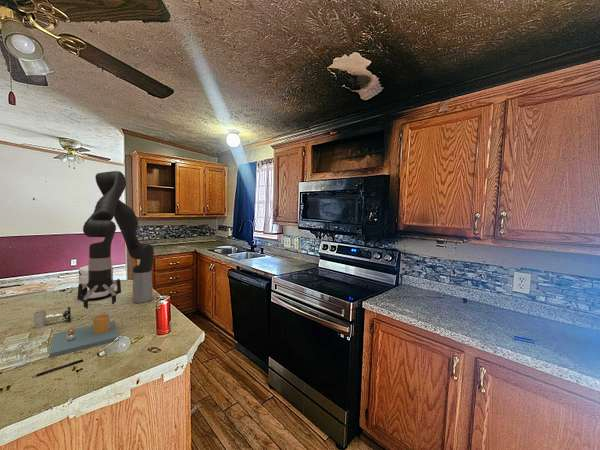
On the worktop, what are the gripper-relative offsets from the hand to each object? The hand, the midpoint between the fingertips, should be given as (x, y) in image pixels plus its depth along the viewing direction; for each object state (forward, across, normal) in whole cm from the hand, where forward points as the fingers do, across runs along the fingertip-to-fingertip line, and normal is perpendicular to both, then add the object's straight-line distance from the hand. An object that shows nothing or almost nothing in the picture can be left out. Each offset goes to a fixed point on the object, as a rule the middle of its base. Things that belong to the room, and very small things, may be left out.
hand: (100, 305), depth 106 cm
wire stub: (+11, +9, +2) cm, 14 cm away
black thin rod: (+13, +11, +20) cm, 27 cm away
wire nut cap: (+11, 0, 0) cm, 11 cm away
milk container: (+12, 0, -56) cm, 57 cm away
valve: (+13, +16, -24) cm, 31 cm away
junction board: (+12, +4, +1) cm, 13 cm away
